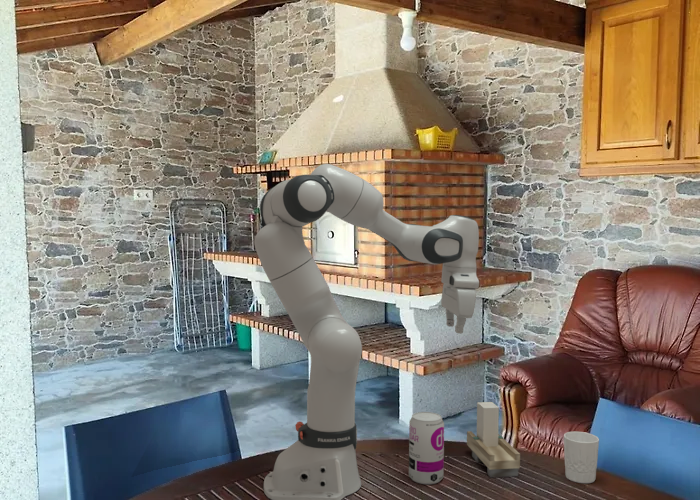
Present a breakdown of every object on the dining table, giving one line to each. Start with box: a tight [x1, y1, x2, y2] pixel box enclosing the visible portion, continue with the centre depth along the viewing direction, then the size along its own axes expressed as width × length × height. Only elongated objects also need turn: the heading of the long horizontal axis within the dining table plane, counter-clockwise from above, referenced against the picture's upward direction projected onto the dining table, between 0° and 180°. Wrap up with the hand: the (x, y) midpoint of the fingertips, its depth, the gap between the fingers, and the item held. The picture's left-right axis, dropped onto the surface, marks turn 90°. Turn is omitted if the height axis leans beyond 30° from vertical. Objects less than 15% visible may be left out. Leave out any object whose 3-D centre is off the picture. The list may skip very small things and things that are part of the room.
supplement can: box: [408, 411, 445, 485], centre depth 148 cm, size 8×8×15 cm
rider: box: [476, 401, 500, 447], centre depth 161 cm, size 4×5×10 cm
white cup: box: [563, 431, 600, 484], centre depth 150 cm, size 8×8×10 cm
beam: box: [466, 430, 521, 478], centre depth 158 cm, size 8×17×6 cm, turn 8°
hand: (454, 329), depth 165 cm, fingers open, 8 cm apart
